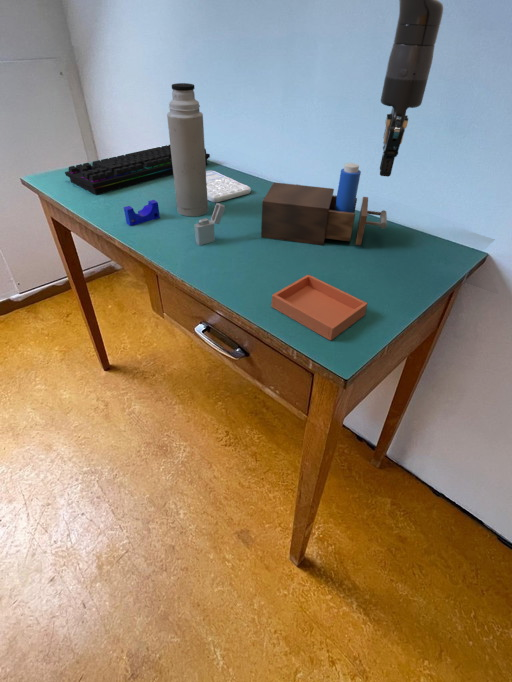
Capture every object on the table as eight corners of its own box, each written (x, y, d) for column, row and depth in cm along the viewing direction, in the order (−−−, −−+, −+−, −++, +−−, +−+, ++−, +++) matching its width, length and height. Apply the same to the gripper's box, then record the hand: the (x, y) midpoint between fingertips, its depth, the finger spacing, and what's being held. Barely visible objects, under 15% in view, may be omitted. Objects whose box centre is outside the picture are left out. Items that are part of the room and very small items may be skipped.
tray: (364, 315, 70) (367, 303, 68) (330, 341, 64) (332, 328, 63) (306, 285, 77) (308, 274, 75) (271, 306, 71) (271, 294, 70)
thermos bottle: (171, 212, 102) (155, 84, 84) (190, 202, 108) (179, 80, 89) (195, 219, 99) (185, 88, 81) (214, 208, 105) (208, 83, 86)
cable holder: (153, 213, 101) (150, 197, 99) (159, 218, 99) (157, 202, 97) (124, 221, 97) (120, 205, 95) (130, 226, 95) (127, 209, 93)
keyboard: (180, 154, 141) (178, 139, 138) (210, 164, 133) (210, 148, 130) (67, 181, 117) (62, 163, 114) (95, 196, 109) (91, 177, 106)
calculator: (214, 204, 107) (213, 197, 106) (175, 183, 119) (175, 176, 117) (252, 193, 114) (252, 186, 112) (212, 174, 125) (212, 168, 124)
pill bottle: (350, 225, 94) (362, 163, 85) (349, 232, 91) (361, 169, 82) (332, 222, 95) (342, 161, 86) (331, 230, 92) (341, 167, 83)
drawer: (382, 227, 96) (388, 199, 92) (382, 248, 88) (389, 218, 83) (307, 218, 99) (311, 190, 95) (301, 237, 91) (304, 208, 86)
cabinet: (328, 223, 99) (334, 188, 94) (323, 245, 90) (328, 208, 84) (272, 216, 102) (273, 182, 96) (261, 237, 92) (262, 201, 87)
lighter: (199, 245, 89) (196, 210, 83) (195, 242, 90) (192, 208, 84) (226, 238, 92) (225, 204, 87) (222, 235, 93) (221, 201, 88)
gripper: (432, 81, 66) (404, 186, 78) (425, 71, 77) (401, 165, 88) (386, 78, 68) (365, 182, 79) (385, 69, 78) (367, 161, 89)
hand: (384, 172), depth 83 cm, fingers open, 3 cm apart
